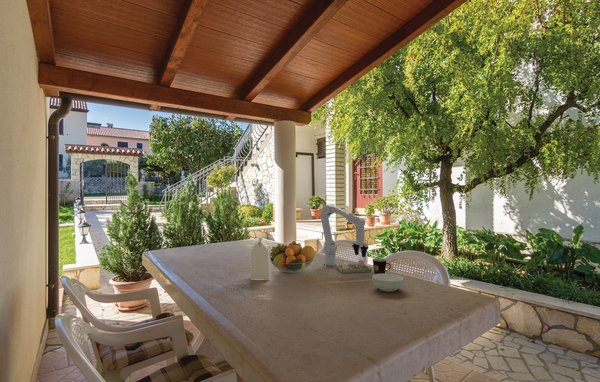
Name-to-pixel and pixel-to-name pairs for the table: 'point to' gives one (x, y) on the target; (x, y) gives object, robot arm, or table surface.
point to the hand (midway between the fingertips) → (360, 255)
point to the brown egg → (361, 263)
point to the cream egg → (345, 266)
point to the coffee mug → (380, 265)
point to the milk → (260, 261)
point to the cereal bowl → (387, 282)
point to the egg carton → (354, 268)
